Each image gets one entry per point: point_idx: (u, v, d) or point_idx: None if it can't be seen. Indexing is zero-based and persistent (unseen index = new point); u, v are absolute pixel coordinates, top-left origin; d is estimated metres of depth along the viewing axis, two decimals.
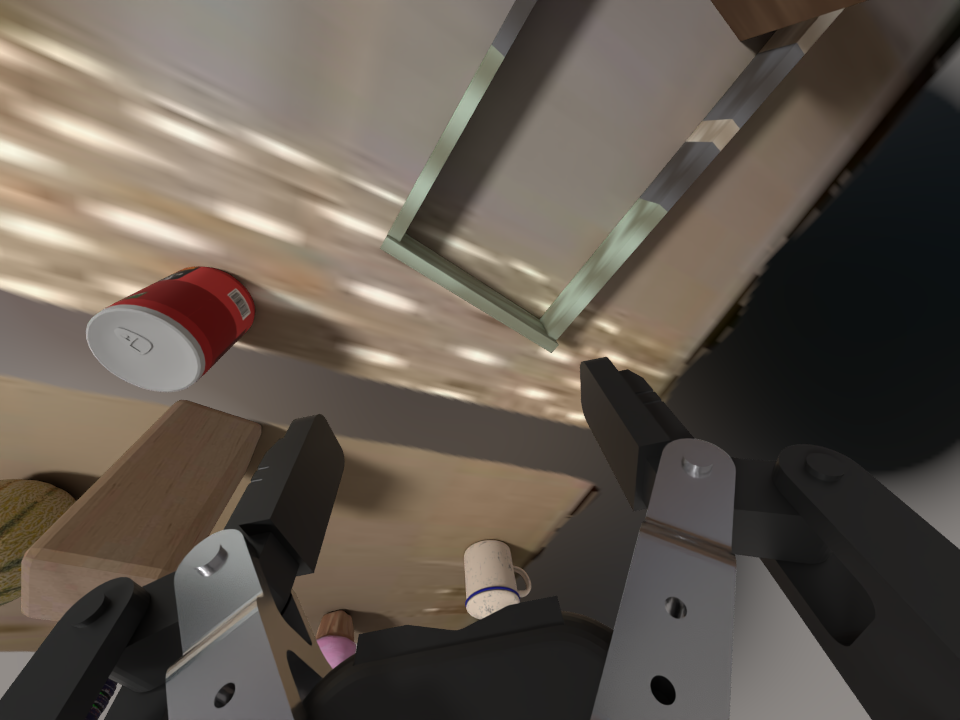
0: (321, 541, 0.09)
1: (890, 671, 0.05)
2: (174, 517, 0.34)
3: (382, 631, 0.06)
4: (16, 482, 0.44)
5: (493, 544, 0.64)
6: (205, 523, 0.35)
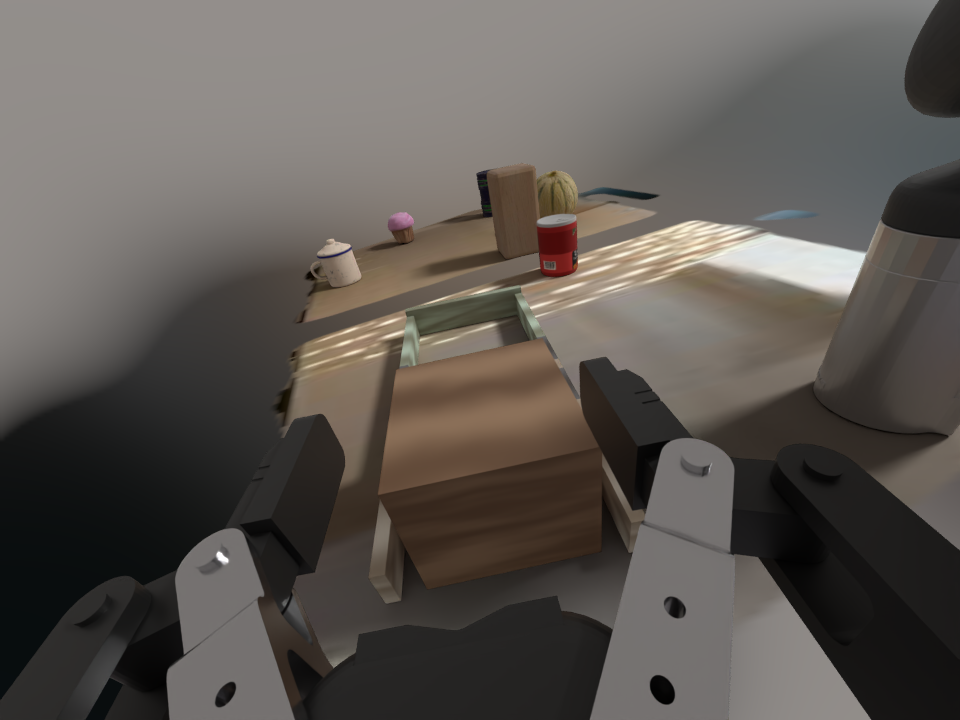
0: (322, 540, 0.09)
1: (888, 671, 0.05)
2: (507, 197, 0.83)
3: (382, 632, 0.06)
4: None
5: (347, 281, 0.97)
6: (496, 201, 0.84)
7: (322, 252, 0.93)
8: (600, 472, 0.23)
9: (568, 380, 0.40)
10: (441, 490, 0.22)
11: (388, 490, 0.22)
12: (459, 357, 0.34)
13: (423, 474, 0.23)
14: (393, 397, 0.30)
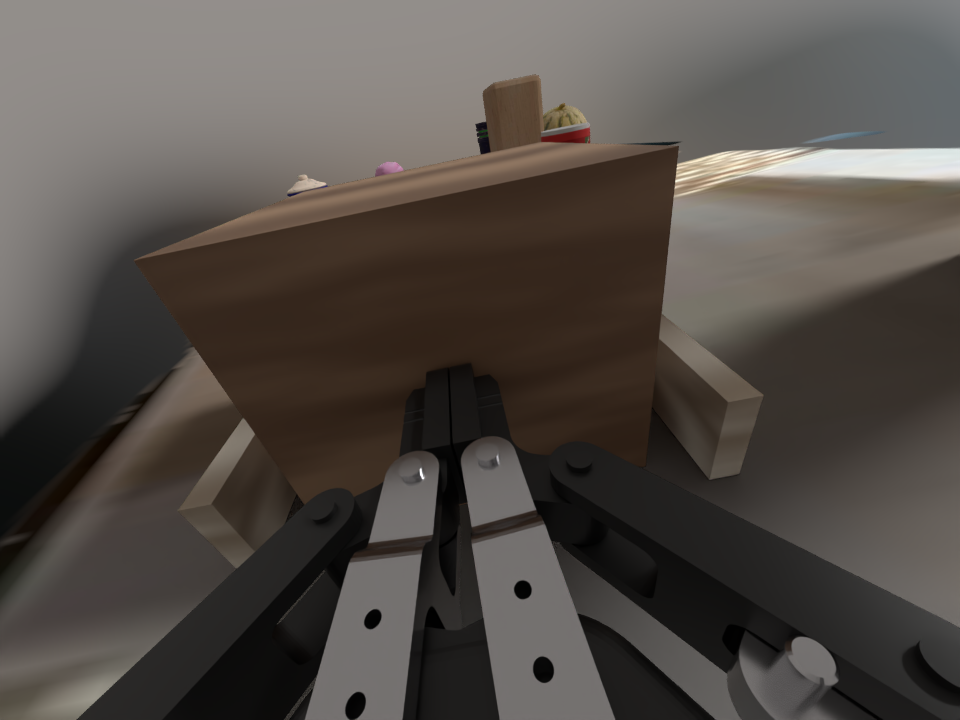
0: None
1: (682, 604, 0.06)
2: (506, 115, 0.70)
3: None
4: None
5: None
6: (494, 121, 0.71)
7: (292, 189, 0.81)
8: (665, 242, 0.10)
9: None
10: (294, 260, 0.09)
11: (163, 253, 0.09)
12: (405, 170, 0.21)
13: (256, 230, 0.10)
14: (279, 202, 0.17)
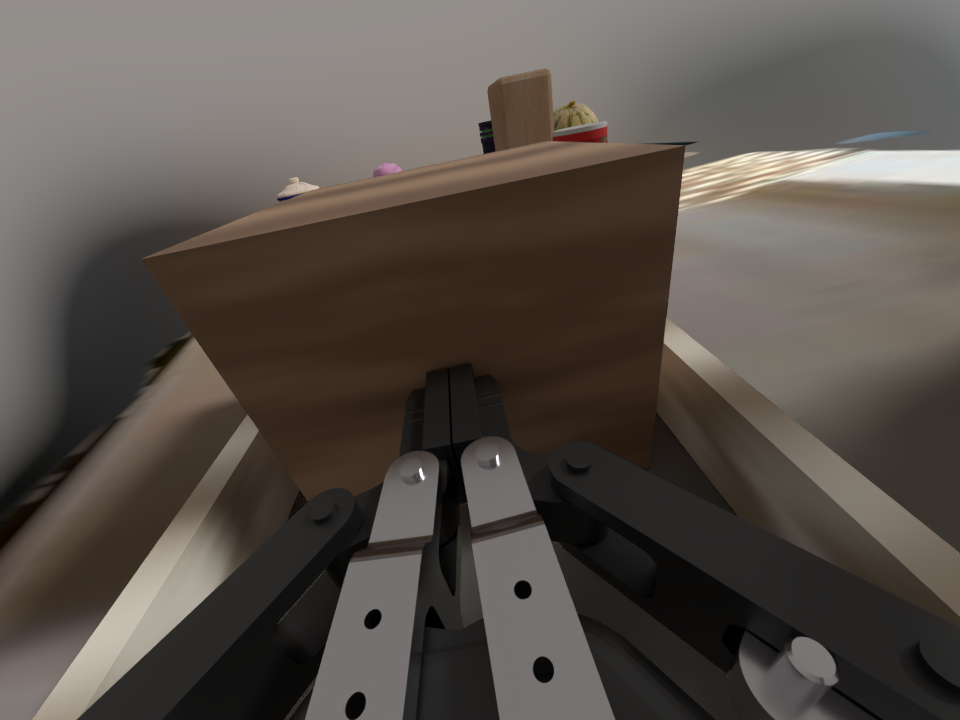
0: None
1: (682, 604, 0.06)
2: (513, 113, 0.64)
3: None
4: None
5: None
6: (500, 120, 0.65)
7: (282, 192, 0.75)
8: (671, 242, 0.10)
9: None
10: (299, 259, 0.10)
11: (170, 252, 0.09)
12: (411, 169, 0.21)
13: (262, 229, 0.10)
14: (285, 201, 0.17)
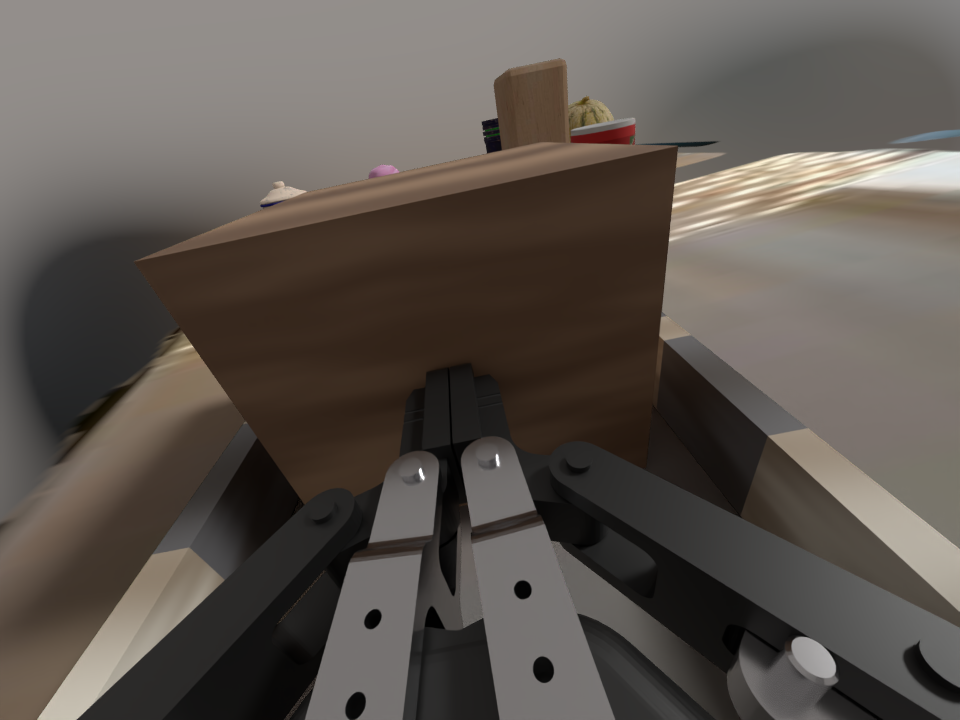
0: None
1: (682, 603, 0.06)
2: (524, 109, 0.57)
3: None
4: None
5: None
6: (508, 117, 0.58)
7: (266, 198, 0.68)
8: (665, 242, 0.10)
9: (726, 368, 0.14)
10: (293, 261, 0.10)
11: (163, 255, 0.09)
12: (406, 171, 0.21)
13: (256, 231, 0.10)
14: (280, 202, 0.17)
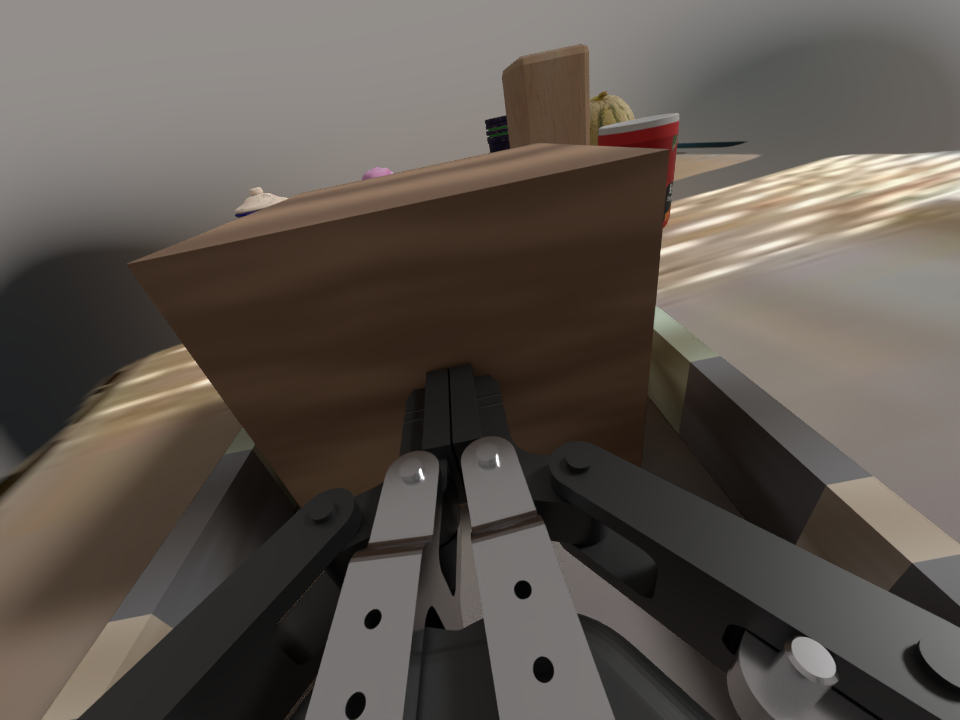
0: None
1: (681, 603, 0.06)
2: (538, 104, 0.48)
3: None
4: None
5: None
6: (519, 113, 0.49)
7: (241, 207, 0.59)
8: (657, 245, 0.10)
9: None
10: (286, 264, 0.10)
11: (155, 257, 0.09)
12: None
13: (248, 234, 0.10)
14: (276, 204, 0.17)
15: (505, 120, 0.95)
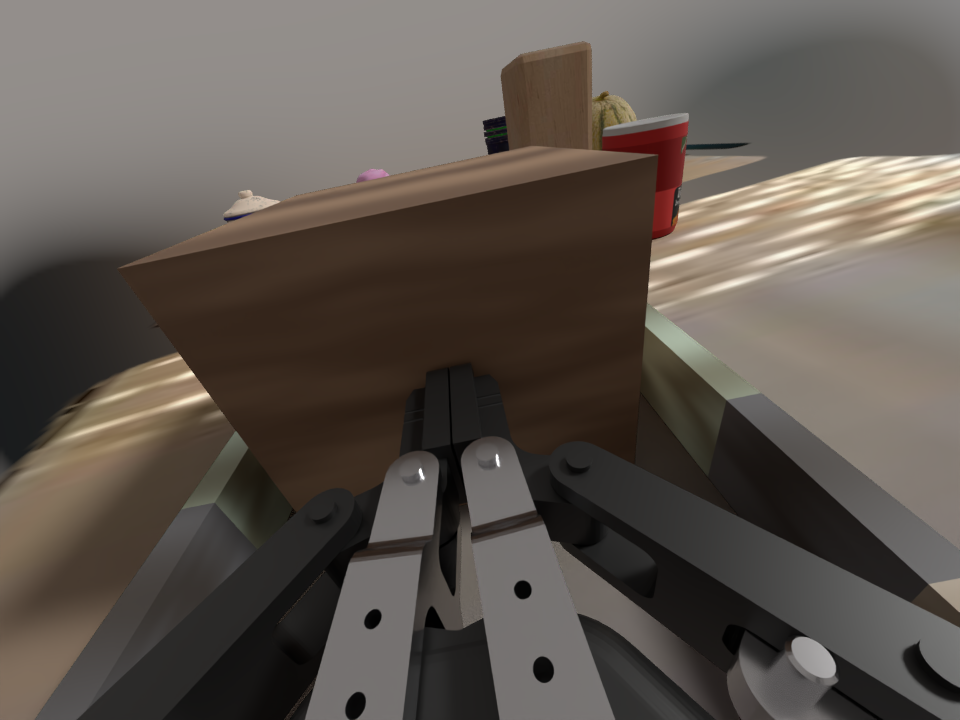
0: None
1: (682, 604, 0.06)
2: (539, 103, 0.46)
3: None
4: None
5: None
6: (519, 113, 0.47)
7: (229, 210, 0.57)
8: (647, 249, 0.10)
9: None
10: (277, 268, 0.10)
11: (147, 262, 0.09)
12: (397, 174, 0.21)
13: (240, 238, 0.10)
14: (269, 206, 0.17)
15: (503, 121, 0.93)
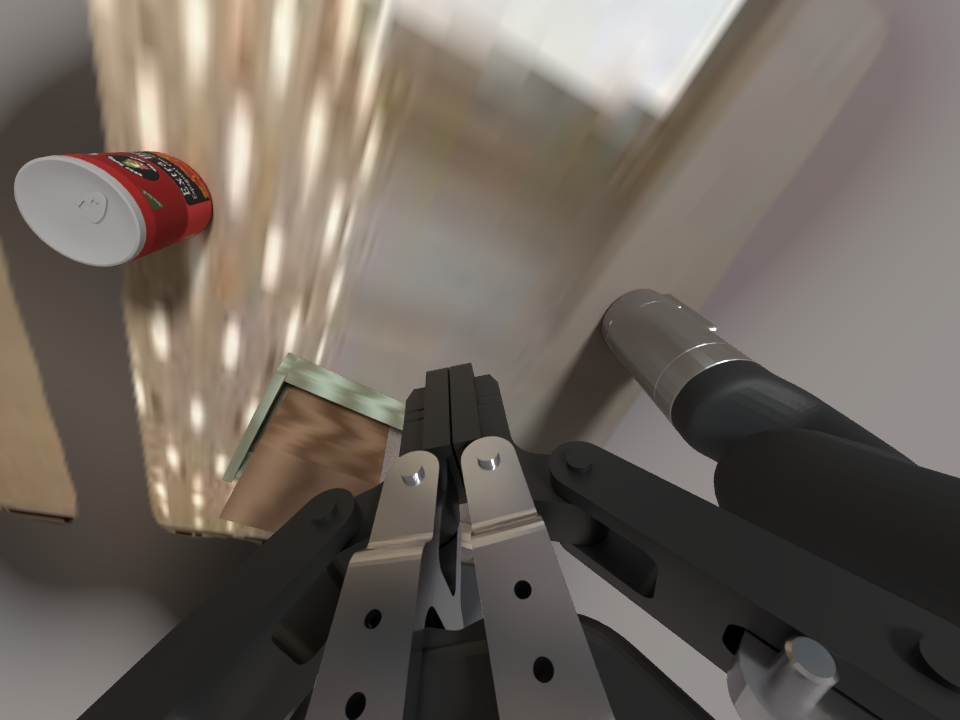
0: None
1: (681, 603, 0.06)
2: None
3: None
4: None
5: None
6: None
7: None
8: None
9: None
10: None
11: None
12: (237, 489, 0.41)
13: None
14: (256, 527, 0.45)
15: None
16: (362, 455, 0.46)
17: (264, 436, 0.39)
